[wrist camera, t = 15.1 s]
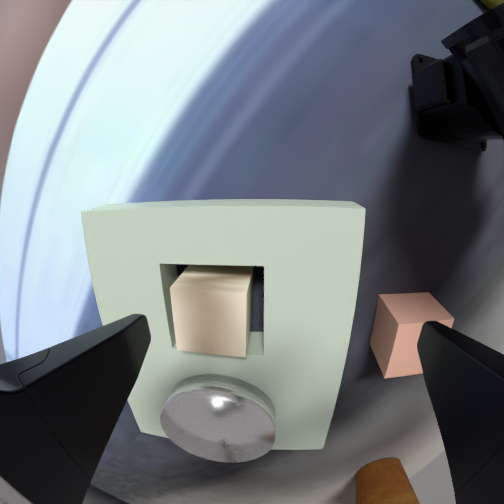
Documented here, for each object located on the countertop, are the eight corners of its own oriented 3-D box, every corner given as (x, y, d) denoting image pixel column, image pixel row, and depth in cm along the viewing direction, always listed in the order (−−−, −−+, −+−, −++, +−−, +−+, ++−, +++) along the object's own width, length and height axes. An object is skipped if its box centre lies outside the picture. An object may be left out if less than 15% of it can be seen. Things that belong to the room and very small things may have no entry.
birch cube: (253, 265, 20) (246, 293, 16) (252, 321, 22) (245, 357, 17) (191, 262, 21) (169, 287, 16) (194, 316, 22) (177, 349, 18)
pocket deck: (352, 201, 18) (365, 208, 15) (320, 426, 25) (322, 448, 22) (103, 204, 20) (81, 211, 17) (150, 412, 26) (141, 431, 24)
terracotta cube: (428, 291, 20) (454, 318, 15) (416, 338, 21) (436, 370, 17) (378, 293, 20) (398, 324, 16) (369, 343, 21) (384, 378, 17)
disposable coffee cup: (420, 460, 27) (439, 524, 15) (365, 488, 29) (373, 550, 18) (394, 443, 25) (414, 522, 14) (331, 474, 28) (336, 549, 17)
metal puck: (278, 377, 19) (277, 401, 17) (274, 444, 22) (272, 465, 20) (160, 367, 20) (148, 388, 18) (179, 434, 23) (172, 453, 20)
